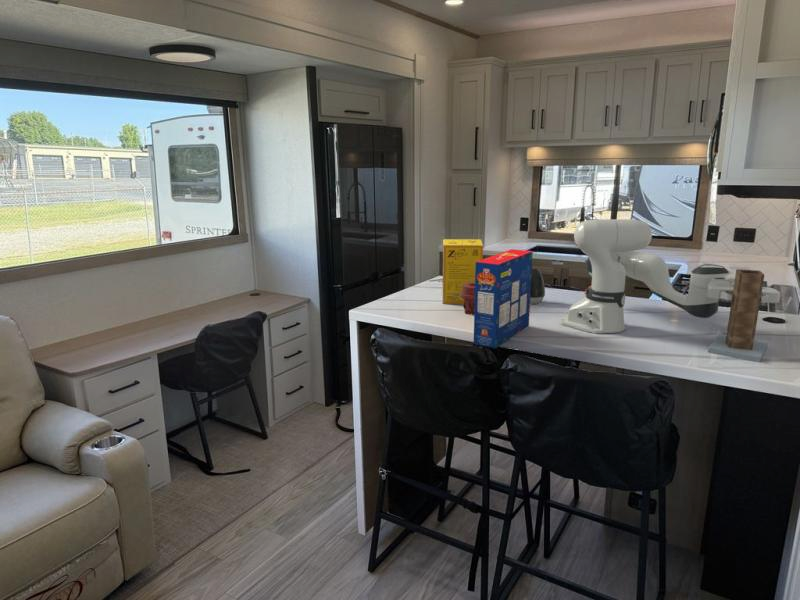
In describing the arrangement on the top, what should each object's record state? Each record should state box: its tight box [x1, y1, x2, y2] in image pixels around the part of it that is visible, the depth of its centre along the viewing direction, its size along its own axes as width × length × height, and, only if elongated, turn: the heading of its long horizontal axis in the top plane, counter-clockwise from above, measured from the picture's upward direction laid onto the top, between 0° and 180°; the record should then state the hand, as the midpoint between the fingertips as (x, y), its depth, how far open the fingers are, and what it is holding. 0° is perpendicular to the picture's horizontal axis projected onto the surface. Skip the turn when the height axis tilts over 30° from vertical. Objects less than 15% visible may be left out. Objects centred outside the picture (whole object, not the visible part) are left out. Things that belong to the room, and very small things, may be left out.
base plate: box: [707, 334, 768, 363], centre depth 176 cm, size 14×16×8 cm
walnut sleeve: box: [725, 268, 765, 350], centre depth 174 cm, size 6×6×24 cm
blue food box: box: [473, 248, 534, 349], centre depth 191 cm, size 28×8×28 cm, turn 145°
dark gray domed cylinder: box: [530, 266, 546, 305], centre depth 233 cm, size 10×10×15 cm
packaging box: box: [442, 238, 484, 305], centre depth 239 cm, size 16×16×25 cm
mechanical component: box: [460, 282, 475, 315], centre depth 220 cm, size 12×10×10 cm
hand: (746, 299), depth 172 cm, fingers open, 8 cm apart
